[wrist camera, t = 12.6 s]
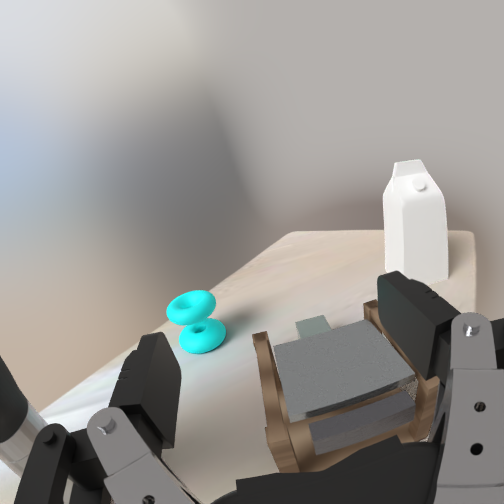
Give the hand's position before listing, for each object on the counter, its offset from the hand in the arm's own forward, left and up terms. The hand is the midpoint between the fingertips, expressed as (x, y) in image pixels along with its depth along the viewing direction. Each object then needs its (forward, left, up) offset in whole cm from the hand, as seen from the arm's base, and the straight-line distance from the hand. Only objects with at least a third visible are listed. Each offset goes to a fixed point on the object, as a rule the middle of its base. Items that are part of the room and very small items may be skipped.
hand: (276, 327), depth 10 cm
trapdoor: (-6, +14, -21) cm, 26 cm away
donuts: (-40, +19, -29) cm, 53 cm away
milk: (-7, +56, -29) cm, 64 cm away
